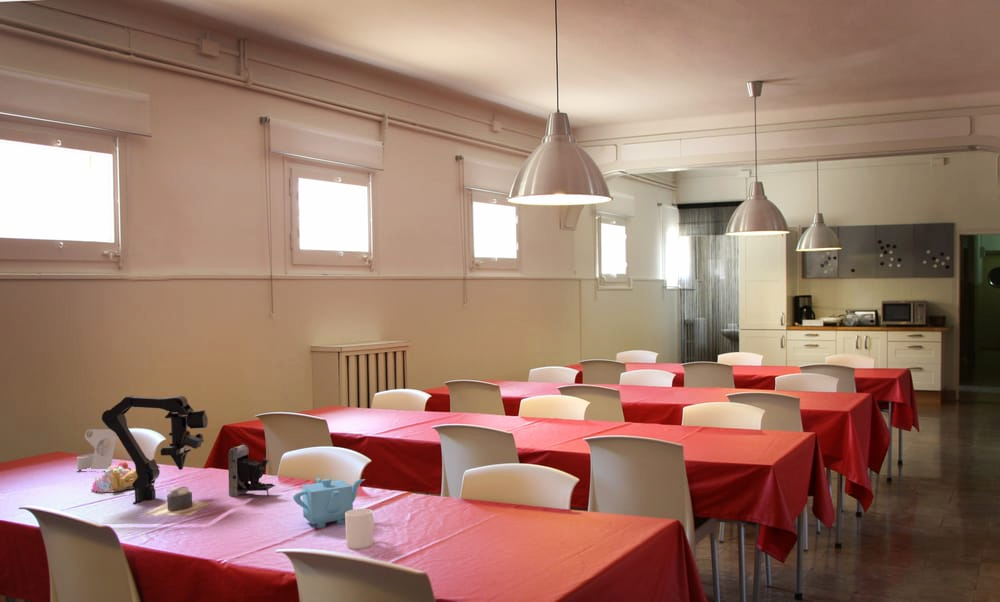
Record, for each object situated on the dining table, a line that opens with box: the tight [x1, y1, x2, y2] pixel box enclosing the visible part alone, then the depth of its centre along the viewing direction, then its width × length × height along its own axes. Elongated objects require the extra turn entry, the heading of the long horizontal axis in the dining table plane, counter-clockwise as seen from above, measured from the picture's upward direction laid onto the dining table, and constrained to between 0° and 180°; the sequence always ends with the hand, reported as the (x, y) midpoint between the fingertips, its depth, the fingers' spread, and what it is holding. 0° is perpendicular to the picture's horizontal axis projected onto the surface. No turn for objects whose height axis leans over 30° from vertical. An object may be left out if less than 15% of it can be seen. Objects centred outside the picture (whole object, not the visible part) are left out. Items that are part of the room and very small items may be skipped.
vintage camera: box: [228, 443, 276, 497], centre depth 326 cm, size 10×16×20 cm, turn 78°
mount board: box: [143, 501, 213, 516], centre depth 307 cm, size 18×18×1 cm
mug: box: [344, 508, 375, 550], centre depth 260 cm, size 12×8×10 cm
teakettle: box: [293, 477, 366, 529], centre depth 285 cm, size 19×19×15 cm
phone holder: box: [76, 428, 118, 470], centre depth 389 cm, size 17×10×18 cm, turn 76°
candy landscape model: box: [90, 461, 138, 493], centre depth 353 cm, size 25×24×9 cm
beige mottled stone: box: [169, 486, 190, 497], centre depth 308 cm, size 6×7×3 cm
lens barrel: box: [166, 491, 193, 511], centre depth 308 cm, size 8×8×5 cm
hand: (180, 469), depth 323 cm, fingers closed
